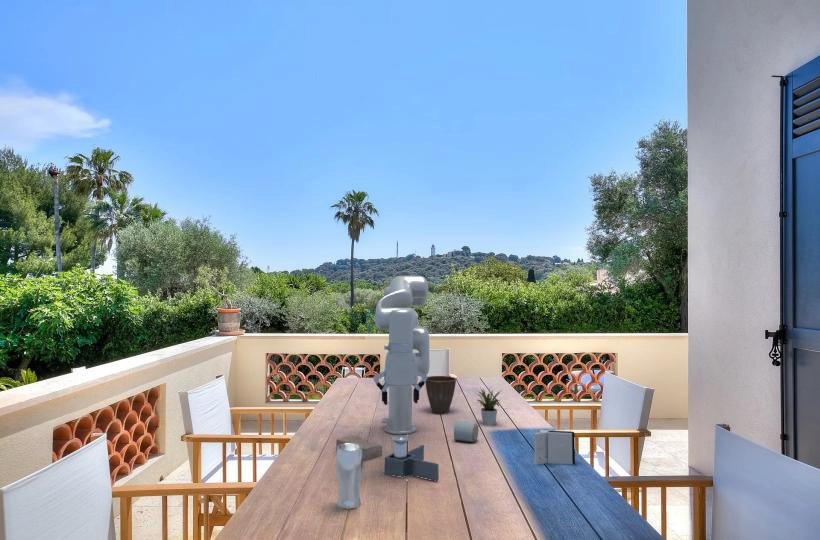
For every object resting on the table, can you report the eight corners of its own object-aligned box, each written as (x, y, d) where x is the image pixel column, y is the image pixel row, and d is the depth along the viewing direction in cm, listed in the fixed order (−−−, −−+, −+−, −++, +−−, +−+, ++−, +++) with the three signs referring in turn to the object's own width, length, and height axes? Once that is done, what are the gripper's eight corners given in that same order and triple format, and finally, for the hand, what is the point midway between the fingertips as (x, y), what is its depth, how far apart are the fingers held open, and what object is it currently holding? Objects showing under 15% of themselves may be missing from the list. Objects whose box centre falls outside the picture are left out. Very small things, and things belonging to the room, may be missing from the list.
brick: (383, 456, 170) (383, 442, 170) (365, 462, 164) (365, 447, 164) (353, 446, 181) (353, 433, 181) (335, 451, 175) (335, 438, 175)
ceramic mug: (474, 444, 182) (474, 423, 183) (453, 442, 185) (453, 421, 186) (480, 437, 192) (480, 417, 193) (460, 435, 195) (460, 415, 196)
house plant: (465, 426, 208) (465, 387, 209) (473, 418, 221) (473, 382, 222) (499, 429, 203) (498, 389, 204) (505, 421, 216) (505, 384, 217)
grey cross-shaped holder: (384, 473, 152) (384, 457, 153) (413, 458, 167) (414, 443, 167) (431, 485, 143) (431, 467, 143) (458, 468, 157) (458, 452, 158)
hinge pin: (389, 473, 153) (389, 437, 153) (398, 468, 157) (398, 434, 157) (402, 476, 150) (402, 440, 151) (411, 471, 154) (411, 436, 155)
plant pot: (461, 411, 236) (461, 377, 237) (446, 417, 223) (446, 382, 224) (434, 407, 244) (434, 374, 245) (418, 413, 231) (418, 379, 232)
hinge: (535, 465, 160) (534, 434, 161) (530, 460, 166) (529, 429, 166) (577, 464, 161) (576, 433, 162) (570, 459, 166) (570, 429, 167)
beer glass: (336, 499, 133) (337, 442, 134) (362, 498, 133) (363, 442, 134) (334, 510, 126) (335, 450, 127) (362, 509, 126) (362, 450, 127)
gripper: (375, 350, 150) (374, 407, 149) (430, 349, 154) (430, 404, 153) (371, 347, 157) (371, 401, 157) (424, 346, 161) (424, 399, 160)
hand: (400, 403), depth 155 cm, fingers open, 9 cm apart
